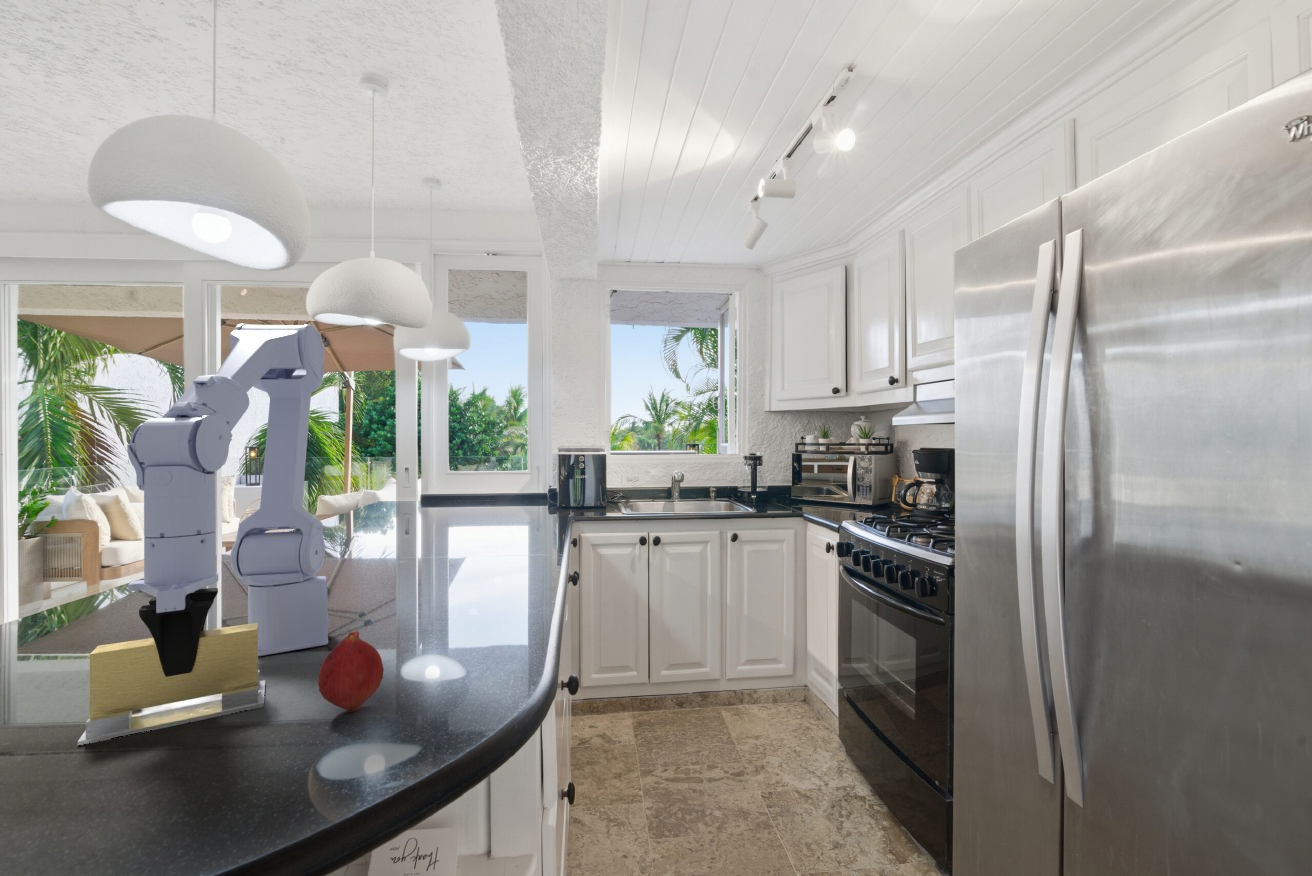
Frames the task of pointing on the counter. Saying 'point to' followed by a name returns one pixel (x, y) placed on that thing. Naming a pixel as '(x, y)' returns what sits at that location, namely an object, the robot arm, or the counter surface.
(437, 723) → the counter surface
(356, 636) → the onion
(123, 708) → the brass plaque on stand
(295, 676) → the counter surface
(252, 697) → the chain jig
